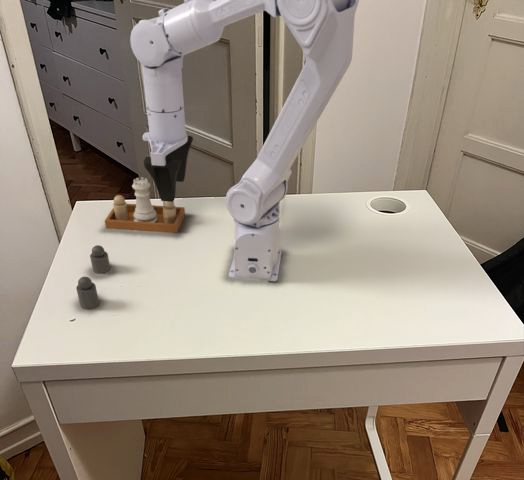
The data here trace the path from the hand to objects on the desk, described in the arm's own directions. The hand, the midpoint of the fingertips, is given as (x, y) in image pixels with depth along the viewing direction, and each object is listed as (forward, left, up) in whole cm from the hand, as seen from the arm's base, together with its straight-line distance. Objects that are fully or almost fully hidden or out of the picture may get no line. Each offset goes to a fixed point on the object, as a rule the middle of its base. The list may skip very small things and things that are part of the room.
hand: (173, 190), depth 96 cm
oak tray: (+5, +7, -9) cm, 13 cm away
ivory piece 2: (+5, +2, -9) cm, 10 cm away
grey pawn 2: (-12, +10, -9) cm, 18 cm away
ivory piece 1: (+5, +12, -9) cm, 15 cm away
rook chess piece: (+5, +7, -9) cm, 13 cm away
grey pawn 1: (-21, +9, -9) cm, 25 cm away
